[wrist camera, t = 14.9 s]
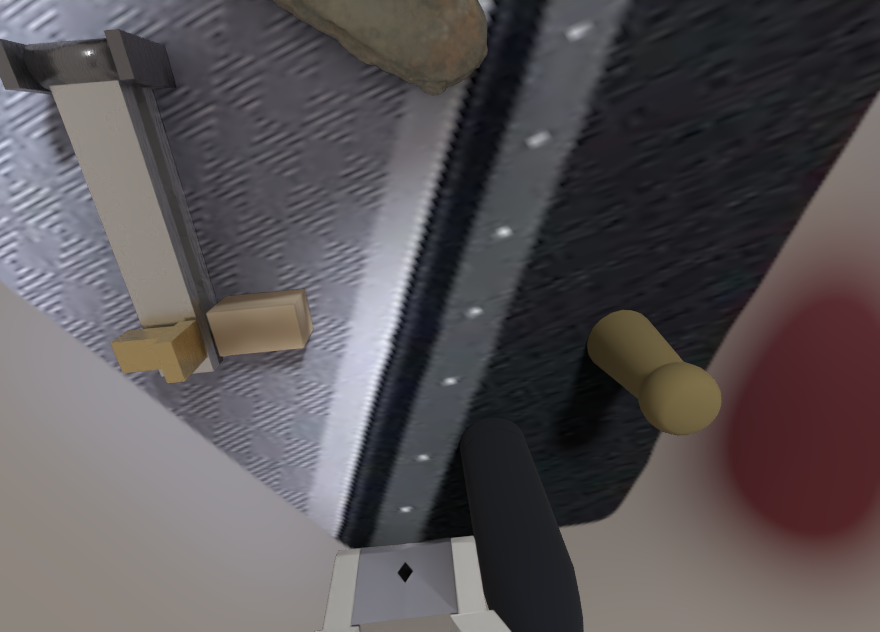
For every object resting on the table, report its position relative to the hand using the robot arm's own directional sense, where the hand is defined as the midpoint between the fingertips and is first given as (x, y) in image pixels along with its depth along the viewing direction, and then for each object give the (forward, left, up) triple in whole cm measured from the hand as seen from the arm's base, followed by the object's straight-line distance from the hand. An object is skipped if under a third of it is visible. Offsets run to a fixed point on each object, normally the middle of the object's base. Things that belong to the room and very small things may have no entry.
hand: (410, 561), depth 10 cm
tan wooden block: (+4, -12, -27) cm, 30 cm away
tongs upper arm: (-4, -18, -25) cm, 31 cm away
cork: (+10, +18, -27) cm, 34 cm away
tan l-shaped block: (+4, -18, -23) cm, 30 cm away
